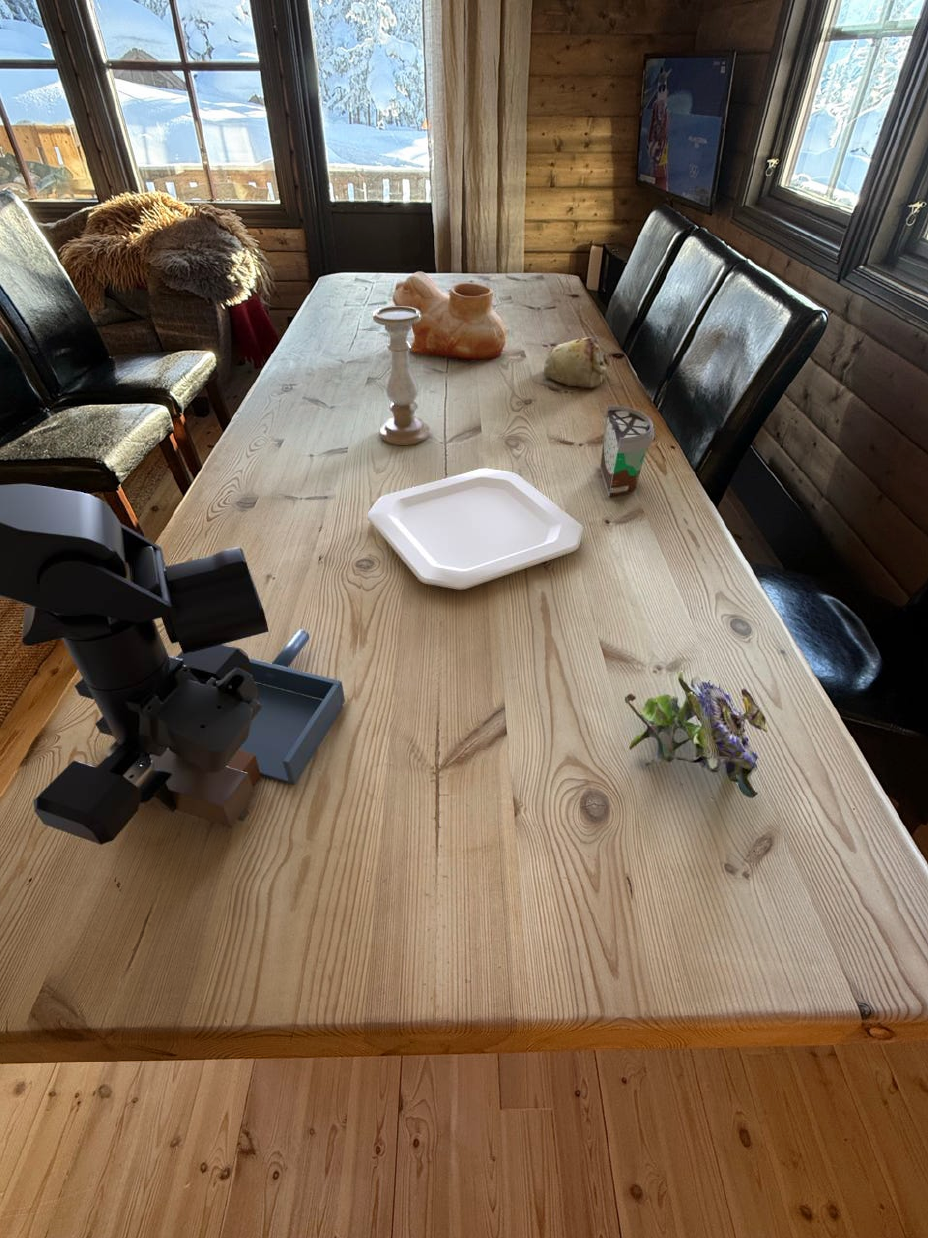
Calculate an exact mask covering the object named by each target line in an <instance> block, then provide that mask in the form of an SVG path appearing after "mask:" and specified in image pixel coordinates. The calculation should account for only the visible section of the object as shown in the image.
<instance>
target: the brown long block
mask: <svg viewBox="0 0 928 1238" xmlns="http://www.w3.org/2000/svg"><path fill="white" fill-rule="evenodd" d="M152 760H153V763H154V767H155V769H159V770H162V771H165V772H168V773H171V774H172V776H171V777H170V778H169V779H168V781H167V782H166V785H167V786H168V788H169V790H170V792H171V794H172V796H173V798H174V801H175V805H176V810H175V811H179V812H182V813H185V814H187V815H191V816H194V817H197V818H200V819H203V820H206V821H209V822H212V823H216V824H218V825H221V826H224V827H228V828H231V829H232V828H233V827H234V826H235V824H236V823H237V821H240V822H244V821H245V820H246V819H247V817H248V815H249V814H250V811H249V808H248V805H249V803H250V802H251V801H252V800H253V798H254V796H255V795H256V792H255V789H254V786H252V783H251V781H250V778H249V775H248V773H246V772H243V771H240V770H236V769H233V768H230V767H227V766H226V767H225V768H224V769H223V770H222V771H220V772H216V773H210V772H207V771H205V770H203V769H201V768H200V767H199V766H198V765H196V764H194V763H192V762H190V761H188V760H186V759H184V758H182V757H180V756H178V755H177V754H175V753H173V752H171V751H170V750H169V749H167V750H166V751H165V752H164V753H163V754H162V756H161V757H158V756H155V755H154V756H153V757H152Z"/></svg>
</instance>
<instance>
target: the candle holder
mask: <svg viewBox="0 0 928 1238" xmlns="http://www.w3.org/2000/svg"><path fill="white" fill-rule="evenodd" d="M421 318H422V315H421V312H420V311H419V310H418V309H416V308H413V307H407V306H396V305H391V306H385V307H381V308H378V309H376V310H375V311H373V314H372V320H373V321H374V323H376V324H377V325H381V326H384V330H385V331H386V332H387V334H388V335H389V337H390V339H389V342H388V344H387V346H386V347H387V350H389V351H390V354H391V368H390V369H391V370H390V374H389V377H388V379H387V382H386V386H385V393H386V396H387V398H388V400H389V401H391V402H390V404H389V408H388V409H389V410H390V412H391V413H392V414H393V417H391V418H389V419H387V420H386V421H385V423H383V424H382V426H381V427H380V429H379V437H380V438H381V439H382V441H384V442H386V443H388V444H391V445H396V446H410V445H411V446H412V445H416V444H419V443H421V442H424V441H426V440H427V439H428V438H429V437H430V434H431V429H430V426H429V424H427V423H426V422H425V421H423V419H421V418H420V417H418V416H415V413H416V410H417V409H418V404H417V402H415V401H416V399H417V397H418V395H419V385H418V383H417V381H416V379H415V377H414V375H413V373H412V370H411V366H410V358H409V351H410V350H409V349H410V348H411V345H412V344H411V343H410V341H409V339H408V334H409V332H410V331H411V330H412V326H411V324H415V323H417V322H419V321H420V320H421Z"/></svg>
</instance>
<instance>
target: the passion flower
mask: <svg viewBox="0 0 928 1238" xmlns="http://www.w3.org/2000/svg"><path fill="white" fill-rule="evenodd" d="M684 673H685V671H684V670H680V671H679V672H678V677H677V680H678V683H679V685H680V687H681V688H682V690H683V692H684V695H685V699H684V701H683V703H682V707H680V706H679V705H678V702H679V701H678V700H679V698H678V697H677V696H676V695H673V696H671V695H670V694H668V693H663V694H662V695H659V696H656V697H655V698H654V697H648V698H647V700H646V702H645V703H644V706H643V708H642V710H641V711H640V713H639V711H638V710H637V709H636V707H635V706H634V704H632V703H631V702H633V701H635V700H636V699H637V698H636V696H635V695H634V694H633V693H631V692H630V693H629V694H627V695H626V696H624V703H625V704H627V705H628V706H629V707H630V708H631V710H632V711H633V713H635V714H636V716H637V717H638V718H639V719H640V720H641V721H642V723H644V725H645V726H646V729H645V730H643V732H641V733H640V734H637V735H636V736H635V737H634V738H633V740H631V742H630V746H629V748H628V750H629V751H632V749H634V748H635V747H636V746H637V745H639V744H640V743H641V742H642V741H644V740H645V739H649V738H654V739H655V740H656V741H657V746H656V748H655V750H654V755H653V757H652V759H650V760H649V761H647V762H645V763H644V764H645V766H646V767H647V766H649V765H653V764H655V763H659V762H667V763H671V762H673V761H674V760H678V761H687V762H690V763H692V764H693V763H694V764H696V763H698V764H700V766H701V767H702V768H703V769H707V770H708V771H709V773H712V774H713V773H718V772H720V770H721V769H722V768H723V766H724V767H725V771H726V772H725V773H726V775H727V777H728V780H729V781H731V782H732V783H736V784H737V786H738V790H739V791H740V792H741V794H743V795H744V796H745V797H747V798H749V799H753V798H755V797H756V796H757V795H758V794H759V792H758V791H757V790H756V788H755V787H754V784H753V780H752V775H753V773H755V772H756V771H757V770H758V765H757V760H758V759H759V757H758V754H757V753H755V751H753V749H752V748H751V745H750V744H749V738H748V737H746V735H745V732H746V729H745V726H746V725H745V724H746V720H747V722H748V723H749V725H751V726H752V727H753V728H755V729H757V730H759V731H760V730H761V731H763V732H765V733H767V732H768V728H767V726H766V723H767V722H766V717H765V716H764V714H763V712H762V710H761V708H760V707H759V706H758V705H757V703H756V702H755V700H754V698H753V696H752V694H751V693H750V692H749V691H748V690H747V689H746V688H742V689H741V691H740V692H741V696H742V702H743V705H744V710H745V713H743V714H742V713H741V711H739V710H736V708H735V707H734V703H732V698H731V697H730V695H729V694H727V693H726V692H725V690H724V688H722V687H721V684H720V683H719V684H718V687H717V686H716V685H715V683H712V684H711V683H710V682H711V679H709V681H708V682H706V681H701V678H700V676H699V675H698V674H697V675H694V676H693V677H692V679H690V683H689V682H688V681H687V680H684V676H683V674H684ZM695 717H696V719H697V721H699V722H700V724H701V725H699V724H694V722H690V720H691V719H692V718H695ZM678 729H681V730H683V731H684V732H685V733H686V735H687V737H688V738H686V739H684V740H683V741H681V742H677V741H676V740H675V734H676V731H677V730H678ZM661 733H663V734H666V735H667V736H668V737H669V740H670V741H669V745H668V747H667V746H666V744H665V743H664V741H663V740H662V739H661V737H660V734H661ZM689 741H691V744H692V746H693V747H694V748H695V751H696V752H695V755H694V757H688V756H679V755H676V751H677V749H679V748H680V747H682V746H683V745H686V744H687V743H688V742H689Z"/></svg>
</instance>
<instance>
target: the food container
mask: <svg viewBox="0 0 928 1238" xmlns="http://www.w3.org/2000/svg"><path fill="white" fill-rule="evenodd" d="M654 440H655V431H654V425H653V420H652V419H651V418H650V417H649V416H648V415H647V414H646V413H644V412H642V411H640V410H637V409H634V408H632V407H627V406H621V405H614V404H613V405H610V404H608V405H607V407H606V412H605V423H604V432H603V440H602V447H601V448H602V449H601V457H600V464H599V469H600V472H601V475H602V479H603V482H604V485H605V489H606V493H607V497H608V498H618V497H622V496H625V495H628V494H631V493H633V492H634V491H635V489H636V488H637V485H638V481H639V478H640V474H641V471H642V467H643V463H644V460H645V456H646V453H647V449H648V447H649V446H651V445H652V443H653V442H654Z"/></svg>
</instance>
